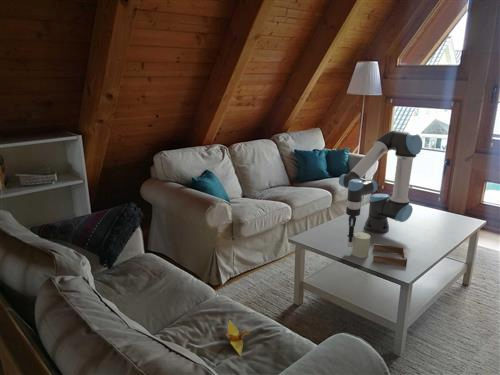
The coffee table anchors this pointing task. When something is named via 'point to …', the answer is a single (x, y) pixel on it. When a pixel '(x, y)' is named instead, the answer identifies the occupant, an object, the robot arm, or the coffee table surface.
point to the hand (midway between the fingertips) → (349, 246)
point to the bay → (390, 259)
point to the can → (361, 245)
